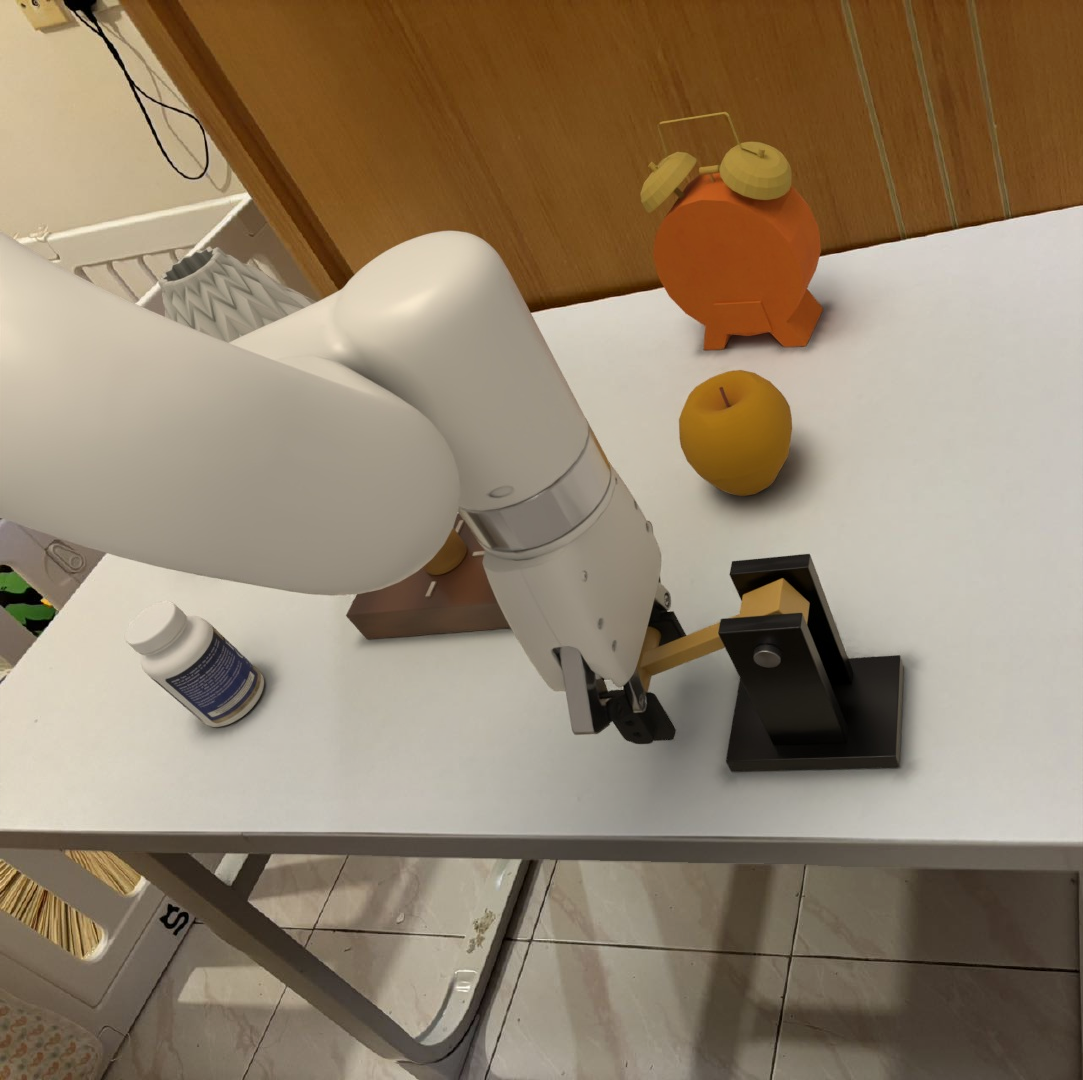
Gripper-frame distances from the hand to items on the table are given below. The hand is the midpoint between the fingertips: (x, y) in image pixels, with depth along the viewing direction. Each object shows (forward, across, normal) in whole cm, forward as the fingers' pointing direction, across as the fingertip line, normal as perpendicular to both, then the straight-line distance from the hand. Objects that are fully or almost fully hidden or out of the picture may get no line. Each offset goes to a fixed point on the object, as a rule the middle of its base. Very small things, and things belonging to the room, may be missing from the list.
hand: (660, 693), depth 61 cm
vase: (+4, -41, -51) cm, 66 cm away
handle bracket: (+3, 0, +9) cm, 10 cm away
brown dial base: (+3, -14, -21) cm, 25 cm away
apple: (+4, -22, +2) cm, 22 cm away
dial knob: (0, -14, -21) cm, 25 cm away
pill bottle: (+4, -4, -38) cm, 38 cm away
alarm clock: (+4, -42, 0) cm, 42 cm away
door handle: (-4, 0, +5) cm, 6 cm away
